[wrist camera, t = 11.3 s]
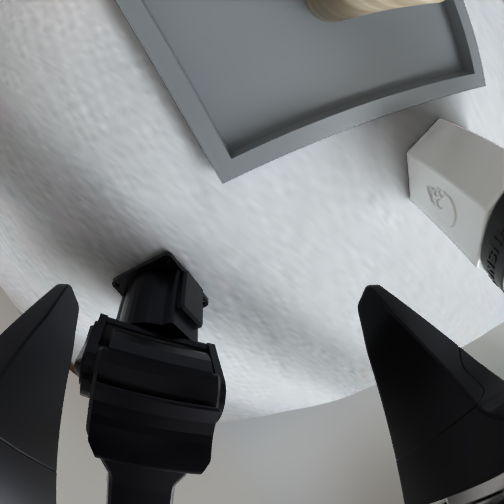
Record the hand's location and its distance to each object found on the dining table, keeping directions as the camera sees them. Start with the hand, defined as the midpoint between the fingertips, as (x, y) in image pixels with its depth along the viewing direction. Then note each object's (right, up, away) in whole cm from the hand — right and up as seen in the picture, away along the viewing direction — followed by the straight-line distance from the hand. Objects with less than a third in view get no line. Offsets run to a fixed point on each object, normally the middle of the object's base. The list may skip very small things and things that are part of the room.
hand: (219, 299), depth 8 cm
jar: (+17, +9, +12) cm, 23 cm away
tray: (+6, +17, +5) cm, 18 cm away
